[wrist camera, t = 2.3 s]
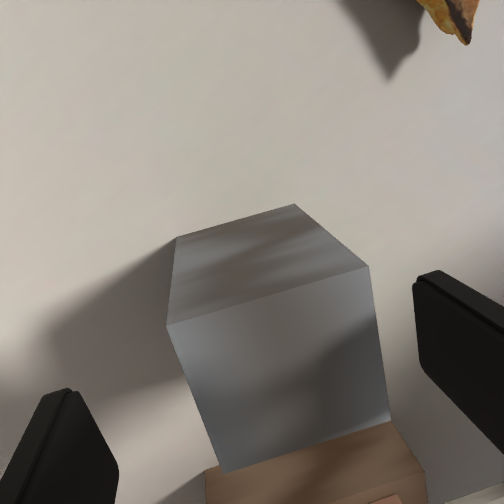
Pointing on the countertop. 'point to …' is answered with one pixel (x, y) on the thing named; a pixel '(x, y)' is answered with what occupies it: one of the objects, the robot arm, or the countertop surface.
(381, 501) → the tower top
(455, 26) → the flatbread slice
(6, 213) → the countertop surface
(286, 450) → the grey block
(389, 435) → the tower base
